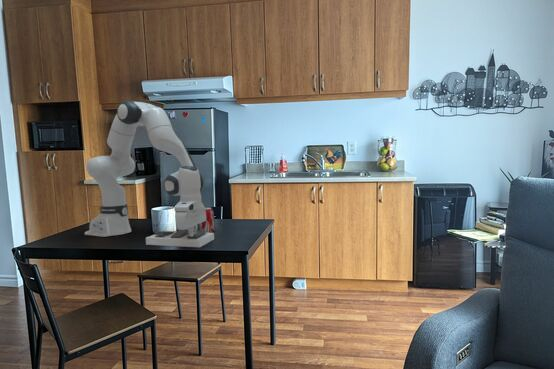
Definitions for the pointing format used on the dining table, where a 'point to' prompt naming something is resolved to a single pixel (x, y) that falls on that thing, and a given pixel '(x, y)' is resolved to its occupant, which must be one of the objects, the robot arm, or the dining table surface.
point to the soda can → (208, 221)
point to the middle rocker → (180, 233)
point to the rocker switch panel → (179, 240)
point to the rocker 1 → (163, 232)
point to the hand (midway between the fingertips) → (192, 235)
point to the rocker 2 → (197, 234)
